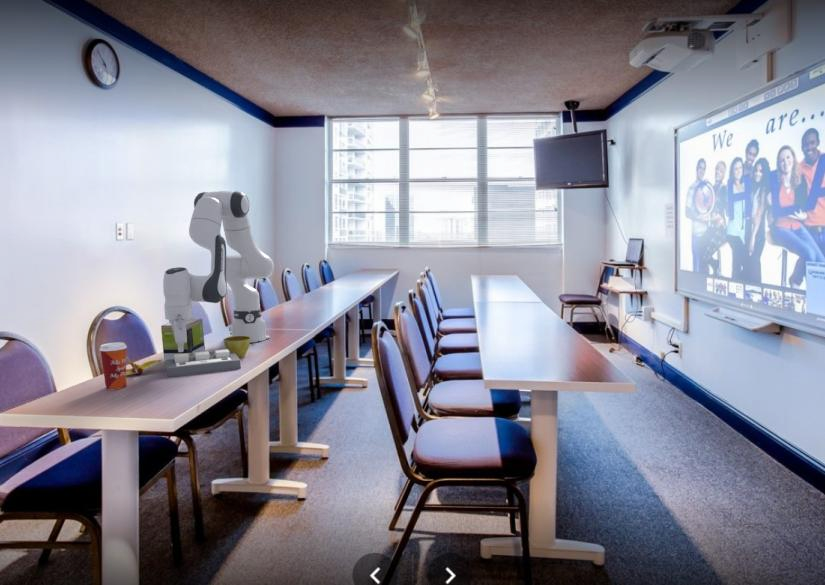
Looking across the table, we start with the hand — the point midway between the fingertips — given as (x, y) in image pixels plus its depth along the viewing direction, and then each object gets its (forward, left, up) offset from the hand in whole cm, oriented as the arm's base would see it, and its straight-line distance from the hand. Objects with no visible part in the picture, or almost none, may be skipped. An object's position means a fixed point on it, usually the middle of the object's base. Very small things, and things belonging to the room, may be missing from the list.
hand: (180, 351), depth 189 cm
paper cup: (+15, -20, -7) cm, 26 cm away
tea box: (-18, +2, -7) cm, 20 cm away
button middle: (0, +7, -5) cm, 8 cm away
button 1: (0, 0, -5) cm, 5 cm away
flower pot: (-11, +21, -7) cm, 25 cm away
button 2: (0, +14, -4) cm, 15 cm away
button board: (+2, +7, -7) cm, 10 cm away
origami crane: (0, -14, -7) cm, 16 cm away
